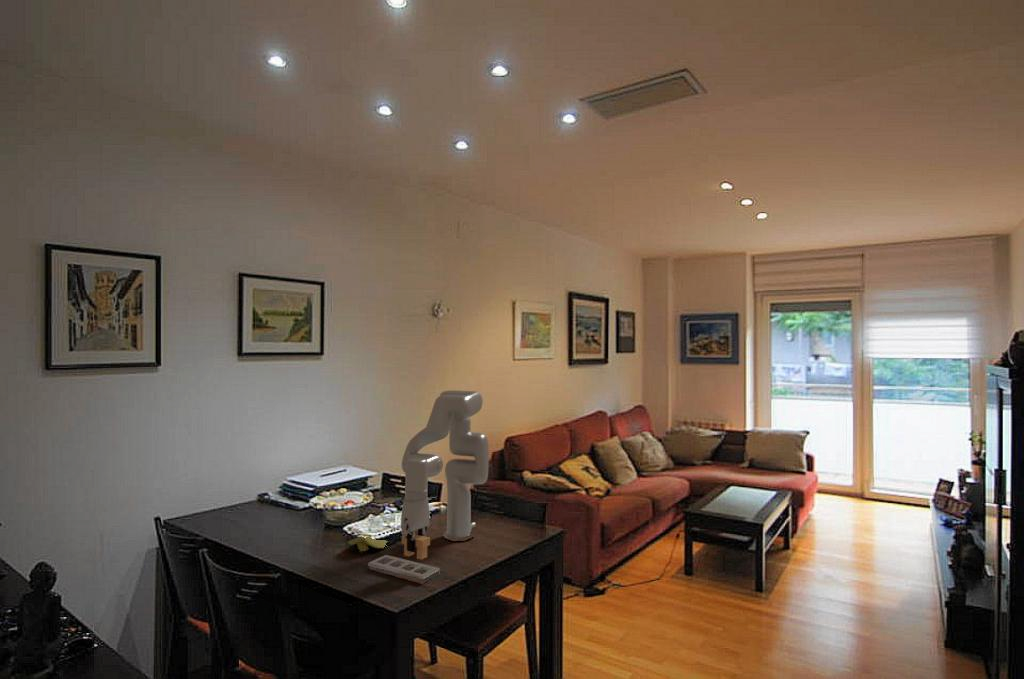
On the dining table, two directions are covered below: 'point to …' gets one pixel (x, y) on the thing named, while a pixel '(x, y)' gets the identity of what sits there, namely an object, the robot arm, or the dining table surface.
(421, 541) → the tan rectangular block
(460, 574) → the dining table surface
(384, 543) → the banana bunch
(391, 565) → the grey slotted tray
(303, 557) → the dining table surface
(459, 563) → the dining table surface
